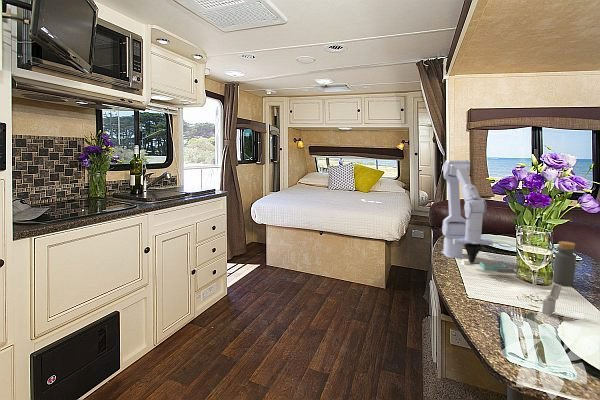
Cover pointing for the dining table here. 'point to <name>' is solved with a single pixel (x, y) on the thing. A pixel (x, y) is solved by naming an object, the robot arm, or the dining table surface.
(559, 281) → the bottle
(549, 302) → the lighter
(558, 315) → the dining table surface
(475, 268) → the board
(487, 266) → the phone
